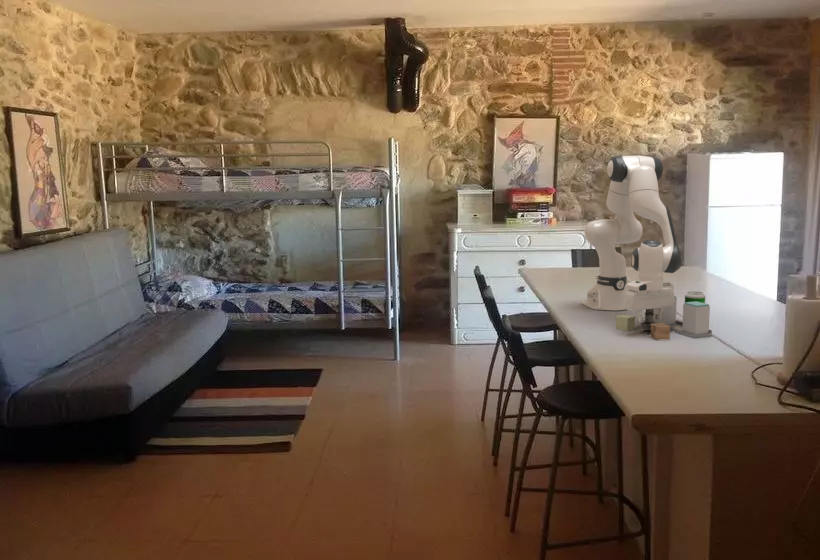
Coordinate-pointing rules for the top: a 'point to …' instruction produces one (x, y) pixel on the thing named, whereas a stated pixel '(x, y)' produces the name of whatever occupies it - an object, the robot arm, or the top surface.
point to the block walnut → (660, 331)
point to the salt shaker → (648, 321)
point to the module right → (696, 317)
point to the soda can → (695, 297)
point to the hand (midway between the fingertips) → (649, 320)
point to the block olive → (625, 322)
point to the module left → (667, 314)
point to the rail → (678, 328)
